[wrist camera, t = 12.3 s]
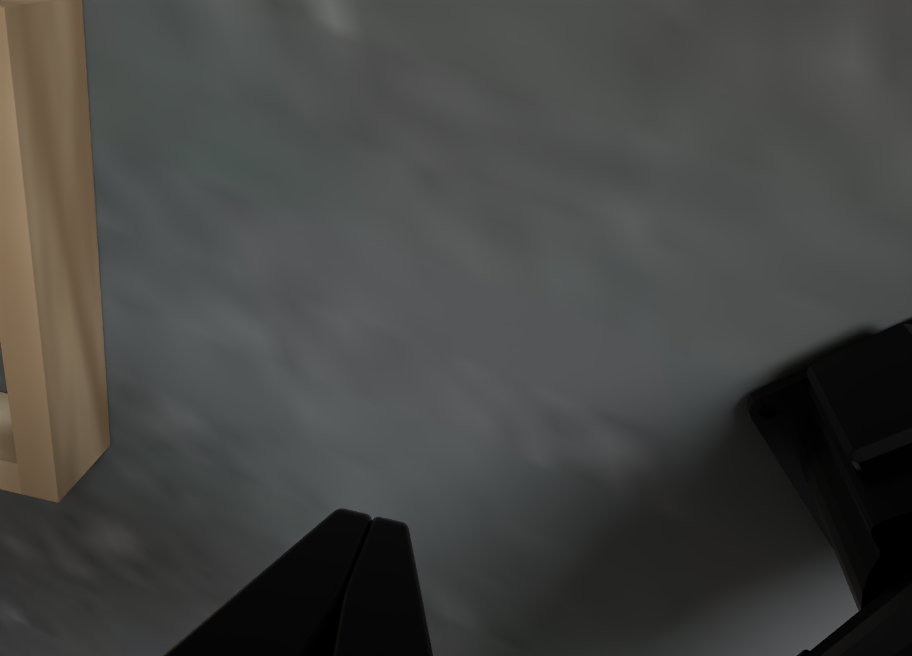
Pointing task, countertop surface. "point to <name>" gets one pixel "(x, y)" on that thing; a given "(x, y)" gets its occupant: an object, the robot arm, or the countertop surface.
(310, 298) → the countertop surface
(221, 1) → the countertop surface
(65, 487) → the wooden square frame
